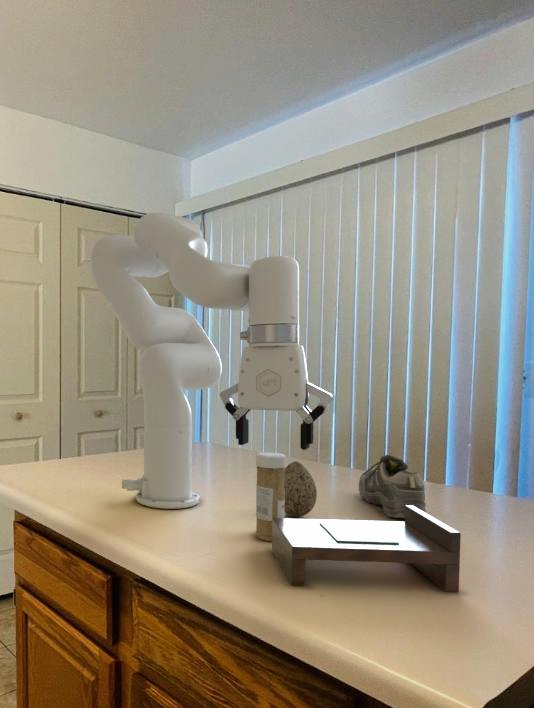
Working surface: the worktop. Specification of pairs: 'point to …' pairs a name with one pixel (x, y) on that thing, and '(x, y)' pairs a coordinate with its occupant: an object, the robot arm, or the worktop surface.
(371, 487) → the hiking shoe
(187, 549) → the worktop surface
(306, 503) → the decorative egg
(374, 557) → the shelf
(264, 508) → the sprinkles bottle
